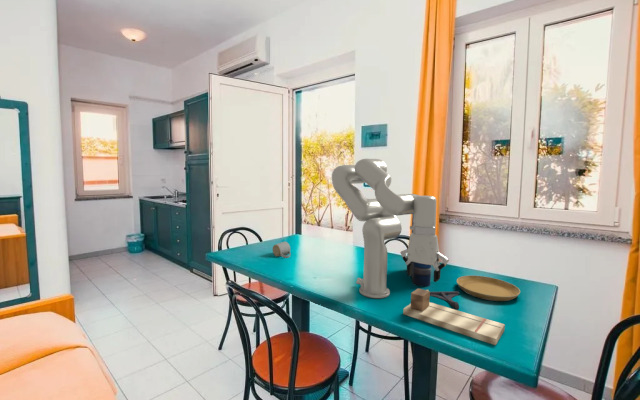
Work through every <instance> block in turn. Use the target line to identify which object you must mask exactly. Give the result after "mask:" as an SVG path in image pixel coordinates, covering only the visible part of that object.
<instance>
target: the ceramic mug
mask: <svg viewBox="0 0 640 400" xmlns="http://www.w3.org/2000/svg"><path fill="white" fill-rule="evenodd" d="M272 253H273V255H274V256H275V257H282V258H284V259H288V258H290V257H291V246H290V244H289V243H288V242H287V241H282V242H279V243H275V244H274V245H273V246H272Z"/></svg>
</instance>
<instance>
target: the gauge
mask: <svg viewBox="0 0 640 400" xmlns="http://www.w3.org/2000/svg"><path fill="white" fill-rule="evenodd" d="M430 292H431V291H429V289H424V288H416V289H415V290H413V291H412V292H411V293H410V304H411V308H413V309H416V310H419V311H423V310H425V309H426V308H427V307H428V306H429V302H430V297H431V296H430Z"/></svg>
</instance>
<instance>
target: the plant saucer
mask: <svg viewBox="0 0 640 400" xmlns="http://www.w3.org/2000/svg"><path fill="white" fill-rule="evenodd" d="M456 283H457V285H458V287H459V288H460V289H461V290H462V291H463V292H465V293H466V294H467V295H469V296H472V297H475V298H478V299H482V300H484V301H485V300H486V301H491V302H492V301H494V302H508V301H511V300H513V299H516V298H517V297H518V296H519V295H520V293H521V290H520V288H519V287H517V286H516V285H515V284H513V283H510V282H508V281H505V280H502V279H498V278H494V277H489V276H484V275H483V276H482V275H464V276H460V277H458V278H457V279H456Z"/></svg>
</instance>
